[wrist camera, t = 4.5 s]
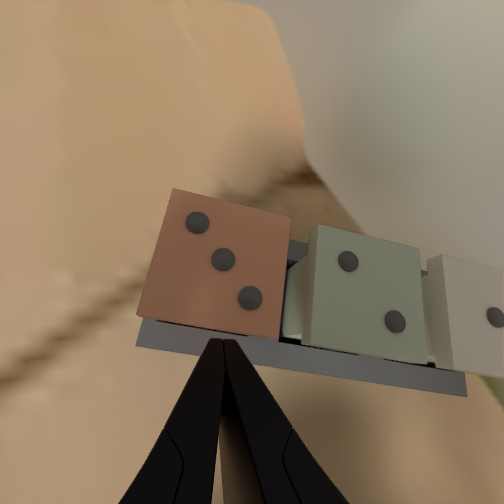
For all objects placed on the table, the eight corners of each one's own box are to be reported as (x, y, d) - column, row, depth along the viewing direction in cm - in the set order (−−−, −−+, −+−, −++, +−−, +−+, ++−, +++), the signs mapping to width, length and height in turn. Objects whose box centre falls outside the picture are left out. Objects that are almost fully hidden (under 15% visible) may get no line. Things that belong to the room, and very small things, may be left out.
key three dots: (244, 341, 18) (279, 338, 11) (155, 327, 17) (135, 313, 10) (256, 259, 20) (292, 216, 13) (177, 242, 19) (173, 186, 12)
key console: (409, 386, 22) (467, 397, 18) (147, 346, 19) (135, 345, 14) (404, 290, 25) (453, 277, 20) (175, 240, 22) (173, 212, 17)
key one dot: (433, 373, 20) (555, 386, 13) (362, 361, 19) (456, 369, 12) (427, 296, 22) (530, 275, 15) (363, 282, 21) (444, 253, 14)
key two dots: (344, 358, 19) (429, 364, 12) (265, 345, 18) (311, 344, 11) (346, 279, 21) (420, 247, 14) (275, 263, 20) (319, 222, 13)
